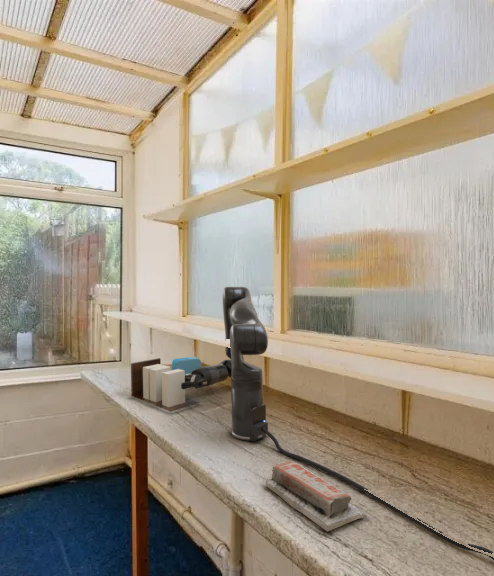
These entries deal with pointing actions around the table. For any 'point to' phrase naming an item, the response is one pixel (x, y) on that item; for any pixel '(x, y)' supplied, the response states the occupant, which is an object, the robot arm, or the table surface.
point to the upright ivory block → (173, 387)
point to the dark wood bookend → (138, 385)
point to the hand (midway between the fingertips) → (174, 384)
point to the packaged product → (313, 496)
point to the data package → (186, 364)
